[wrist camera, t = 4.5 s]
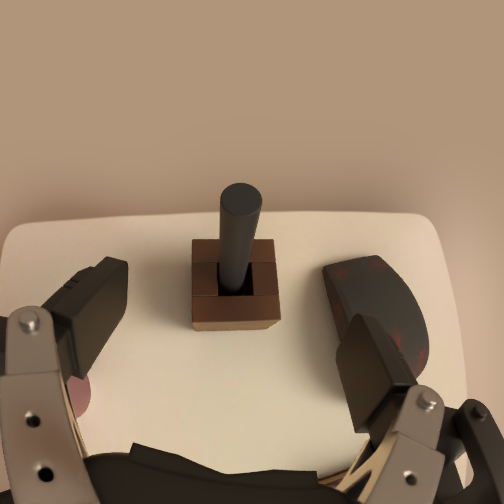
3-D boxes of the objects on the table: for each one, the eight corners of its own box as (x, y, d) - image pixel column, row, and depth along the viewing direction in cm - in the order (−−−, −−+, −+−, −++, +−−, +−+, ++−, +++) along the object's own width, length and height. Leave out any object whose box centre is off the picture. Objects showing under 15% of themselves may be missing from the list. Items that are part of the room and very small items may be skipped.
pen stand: (194, 331, 24) (192, 322, 19) (193, 262, 26) (191, 239, 21) (267, 329, 25) (281, 319, 20) (261, 261, 27) (273, 239, 22)
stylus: (214, 293, 25) (212, 195, 13) (231, 281, 26) (244, 176, 13) (227, 310, 25) (238, 223, 12) (244, 297, 25) (270, 202, 13)
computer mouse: (350, 411, 23) (372, 416, 19) (312, 270, 27) (328, 254, 24) (416, 380, 24) (442, 378, 21) (380, 255, 29) (401, 239, 25)
